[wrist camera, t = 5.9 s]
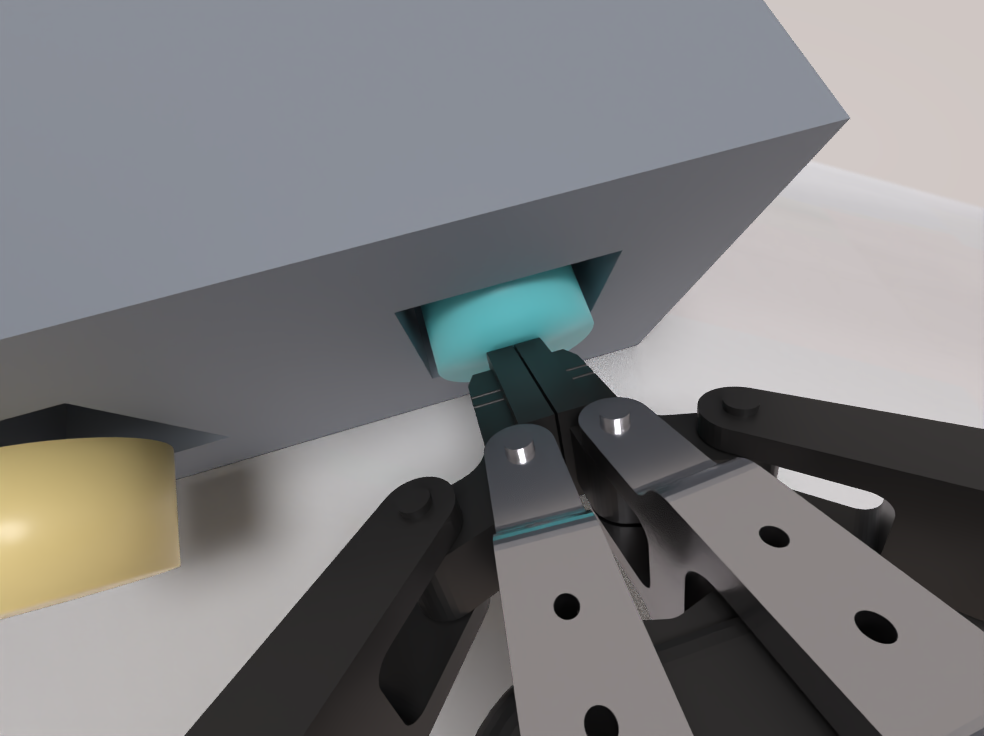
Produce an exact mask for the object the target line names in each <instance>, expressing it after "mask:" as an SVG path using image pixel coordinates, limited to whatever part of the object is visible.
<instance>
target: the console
mask: <svg viewBox="0 0 984 736" xmlns="http://www.w3.org/2000/svg"><path fill="white" fill-rule="evenodd" d="M849 119H850V117H849V116H848V114H847V113H846V112H845V110H844V109H843V108H842V106H841V105H840V104H839V102H838V101H837V100H836V98H835V97H834V95H833V94H832V93H831V91H830V90H829V89H828V87H827V86H826V85H825V83H824V82H823V81H822V79H821V78H820V77H819V75H818V74H817V72H816V71H815V70H814V68H813V67H812V66H811V64H810V63H809V62H808V60H807V59H806V57H805V56H804V55H803V53H802V52H801V51H800V49H799V48H798V47H797V45H796V44H795V43H794V41H793V40H792V39H791V37H790V36H789V35H788V33H787V32H786V30H785V29H784V28H783V26H782V25H781V24H780V22H779V21H778V20H777V18H776V17H775V16H774V14H773V13H772V11H771V10H770V9H769V7H768V6H767V5H766V3H765V2H764V1H763V0H0V447H4V446H11V445H18V444H24V443H33V442H41V441H51V440H62V439H76V438H97V437H124V438H142V439H150V440H156V441H161V442H164V443H167V444H169V445H171V446H172V447H173V449H174V461H175V478H176V479H179V478H183V477H186V476H190V475H193V474H197V473H200V472H203V471H207V470H210V469H214V468H217V467H221V466H224V465H227V464H231V463H234V462H238V461H241V460H245V459H248V458H251V457H255V456H258V455H262V454H265V453H269V452H272V451H275V450H279V449H282V448H286V447H289V446H292V445H296V444H299V443H303V442H306V441H310V440H313V439H316V438H320V437H323V436H327V435H330V434H334V433H337V432H340V431H344V430H347V429H351V428H354V427H358V426H361V425H364V424H368V423H371V422H375V421H378V420H381V419H385V418H388V417H392V416H395V415H399V414H402V413H405V412H409V411H412V410H416V409H419V408H423V407H426V406H429V405H433V404H436V403H440V402H443V401H447V400H450V399H453V398H457V397H460V396H464V395H467V394H470V392H469V389H468V385H469V383H470V382H453V381H449V380H446V379H444V378H442V377H441V376H440V375H439V374H438V370H437V366H436V362H435V359H434V355H433V351H432V348H431V344H430V340H429V336H428V333H427V329H426V325H425V321H424V318H423V314H422V310H421V307H420V306H421V305H424V304H428V303H432V302H435V301H439V300H443V299H446V298H450V297H454V296H457V295H461V294H464V293H468V292H472V291H475V290H479V289H483V288H486V287H490V286H494V285H497V284H501V283H505V282H508V281H512V280H516V279H519V278H523V277H527V276H530V275H534V274H537V273H541V272H545V271H548V270H552V269H556V268H559V267H563V266H567V265H570V264H571V266H572V269H573V271H574V274H575V276H576V279H577V281H578V284H579V286H580V289H581V291H582V293H583V296H584V298H585V301H586V303H587V306H588V308H589V311H590V313H591V316H592V318H593V321H594V326H593V328H592V330H591V332H590V333H589V334H588V336H587V337H586V338H585V339H584V340H582V341H581V342H580V343H579V344H577V345H576V346H575V347H573V348H572V349H570V350H569V352H572V353H575V354H577V355H578V356H579V357H580V358H581V359H582V360H587V359H590V358H594V357H597V356H601V355H604V354H607V353H611V352H614V351H618V350H621V349H625V348H628V347H631V346H635V345H638V344H639V343H640V342H641V341H642V340H643V338H644V337H645V336H646V335H647V334H648V333H649V332H650V331H651V330H652V329H653V328H654V327H655V326H656V325H657V324H658V322H659V321H660V320H661V319H662V318H663V317H664V316H665V315H666V314H667V313H668V312H669V311H670V310H671V309H672V308H673V306H674V305H675V304H676V303H677V302H678V301H679V300H680V299H681V298H682V297H683V296H684V295H685V294H686V293H687V292H688V290H689V289H690V288H691V287H692V286H693V285H694V284H695V283H696V282H697V281H698V280H699V279H700V278H701V277H702V276H703V274H704V273H705V272H706V271H707V270H708V269H709V268H710V267H711V266H712V265H713V264H714V263H715V262H716V261H717V260H718V258H719V257H720V256H721V255H722V254H723V253H724V252H725V251H726V250H727V249H728V248H729V247H730V246H731V245H732V244H733V242H734V241H735V240H736V239H737V238H738V237H739V236H740V235H741V234H742V233H743V232H744V231H745V230H746V229H747V228H748V227H749V225H750V224H751V223H752V222H753V221H754V220H755V219H756V218H757V217H758V216H759V215H760V214H761V213H762V212H763V211H764V209H765V208H766V207H767V206H768V205H769V204H770V203H771V202H772V201H773V200H774V199H775V198H776V197H777V196H778V195H779V193H780V192H781V191H782V190H783V189H784V188H785V187H786V186H787V185H788V184H789V183H790V182H791V181H792V180H793V179H794V177H795V176H796V175H797V174H798V173H799V172H800V171H801V170H802V169H803V168H804V167H805V166H806V165H807V164H808V163H809V161H810V160H811V159H812V158H813V157H814V156H815V155H816V154H817V153H818V152H819V151H820V150H821V149H822V148H823V147H824V145H825V144H826V143H827V142H828V141H829V140H830V139H831V138H832V137H833V136H834V135H835V134H836V133H837V132H838V131H839V129H840V128H841V127H842V126H843V125H844V124H845V123H846V122H847V121H848V120H849Z"/></svg>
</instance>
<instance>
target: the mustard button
mask: <svg viewBox="0 0 984 736" xmlns="http://www.w3.org/2000/svg"><path fill="white" fill-rule="evenodd" d="M180 566H181V565H180V548H179V530H178V513H177V495H176V478H175V461H174V449H173V447H172V446H171V445H169V444H167V443H164V442H161V441H156V440H150V439H142V438H124V437H97V438H76V439H62V440H51V441H41V442H33V443H24V444H18V445H11V446H4V447H0V620H1V619H4V618H8V617H12V616H16V615H19V614H23V613H27V612H30V611H34V610H38V609H41V608H45V607H49V606H52V605H56V604H59V603H63V602H67V601H70V600H74V599H77V598H81V597H84V596H88V595H91V594H95V593H98V592H102V591H105V590H109V589H112V588H115V587H119V586H122V585H125V584H129V583H132V582H135V581H139V580H142V579H145V578H148V577H152V576H155V575H158V574H161V573H164V572H167V571H170V570H173V569H175V568H178V567H180Z"/></svg>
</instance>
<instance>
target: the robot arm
mask: <svg viewBox="0 0 984 736" xmlns="http://www.w3.org/2000/svg"><path fill="white" fill-rule="evenodd" d="M486 354H487V360H488V364H489V368H490V370H488V371H485V372H481V373H478V374H474V375H473V376H472V378H471V380H470V383H469V385H468V389H469V392H470V396H471V399H472V403H473V406H474V410H475V413H476V417H477V420H478V424H479V427H480V431H481V434H482V438H483V441H484V445H485V449H484V456H483V459H482V461H481V462H480V464H479V465H478V466H477V467H476V468H475V469H474V471H472V472H471V473H470V474H469V475H467V476H466V477H464V478H463V479H461V480H459V481H458V482H456V483H454V484H453V485H450V484H449V483H448V482H447V481H445V480H443V479H441V478H437V477H422V478H418V479H414V480H411V481H409V482H407V483H405V484H403V485H401V486H400V487H398V488H397V489H395V490H394V491H393V492H392V493H390V494H389V496H388V497H387V498H386V499H385V500H384V501H383V502H382V503H381V505H380V506H379V507H378V508H377V509H376V511H375V512H374V513H373V514H372V515H371V516H370V518H369V519H368V520H367V521H366V522H365V524H364V525H363V526H362V527H361V528H360V529H359V531H358V532H357V533H356V534H355V535H354V536H353V538H352V539H351V540H350V541H349V542H348V544H347V545H346V546H345V547H344V548H343V549H342V551H341V552H340V553H339V554H338V555H337V557H336V558H335V559H334V560H333V561H332V562H331V564H330V565H329V566H328V567H327V568H326V569H325V571H324V572H323V573H322V574H321V575H320V577H319V578H318V579H317V580H316V581H315V582H314V584H313V585H312V586H311V587H310V588H309V590H308V591H307V592H306V593H305V594H304V595H303V597H302V598H301V599H300V600H299V601H298V602H297V604H296V605H295V606H294V607H293V608H292V610H291V611H290V612H289V613H288V614H287V615H286V617H285V618H284V619H283V620H282V621H281V623H280V624H279V625H278V626H277V627H276V628H275V630H274V631H273V632H272V633H271V634H270V635H269V637H268V638H267V639H266V640H265V641H264V643H263V644H262V645H261V646H260V647H259V648H258V650H257V651H256V652H255V653H254V654H253V656H252V657H251V658H250V659H249V660H248V661H247V663H246V664H245V665H244V666H243V667H242V668H241V670H240V671H239V672H238V673H237V674H236V676H235V677H234V678H233V679H232V680H231V681H230V683H229V684H228V685H227V686H226V687H225V689H224V690H223V691H222V692H221V693H220V694H219V696H218V697H217V698H216V699H215V700H214V701H213V703H212V704H211V705H210V706H209V707H208V709H207V710H206V711H205V712H204V713H203V714H202V716H201V717H200V718H199V719H198V720H197V722H196V723H195V724H194V725H193V726H192V727H191V729H190V730H189V731H188V732H187V733H186V734H185V736H429V734H430V732H431V730H432V728H433V726H434V724H435V721H436V719H437V717H438V715H439V713H440V711H441V709H442V707H443V704H444V702H445V700H446V698H447V696H448V694H449V692H450V689H451V687H452V685H453V683H454V681H455V679H456V677H457V675H458V672H459V670H460V668H461V666H462V664H463V662H464V660H465V658H466V655H467V653H468V651H469V649H470V647H471V645H472V643H473V641H474V638H475V636H476V634H477V632H478V630H479V628H480V626H481V624H482V621H483V619H484V617H485V615H486V613H487V610H488V608H489V603H490V597H491V596H492V595H494V594H495V593H496V592H498V591H499V590H500V595H501V602H502V609H503V616H504V623H505V630H506V637H507V644H508V651H509V658H510V665H511V672H512V679H513V685H512V686H511V687H510V688H509V689H508V690H507V691H506V692H505V693H504V694H503V696H502V697H501V698H500V699H499V701H498V702H497V703H496V704H495V705H494V707H493V708H492V709H491V711H490V712H489V714H488V715H487V717H486V718H485V720H484V721H483V723H482V725H481V726H480V728H479V729H478V731H477V733H476V735H475V736H984V429H980V428H974V427H969V426H963V425H957V424H952V423H946V422H940V421H935V420H929V419H923V418H918V417H912V416H906V415H901V414H895V413H889V412H883V411H878V410H872V409H866V408H861V407H855V406H849V405H844V404H838V403H832V402H827V401H821V400H815V399H810V398H804V397H798V396H792V395H787V394H781V393H775V392H770V391H764V390H758V389H753V388H746V387H723V388H718V389H714V390H711V391H709V392H707V393H705V394H704V395H703V396H702V397H701V398H700V399H699V401H698V408H697V413H690V414H677V415H656V414H655V413H654V412H653V411H652V410H650V409H649V408H648V407H647V406H645V405H644V404H643V403H641V402H639V401H636V400H633V399H629V398H622V397H617V396H616V395H615V394H614V393H613V392H612V391H611V390H610V389H609V388H608V387H607V386H606V385H605V383H604V382H603V381H602V380H601V379H600V378H599V377H598V376H597V375H596V374H595V373H593V371H592V370H591V368H590V367H589V366H587V365H586V363H585V362H584V361H583V360H582V359H581V358H580V357H579V356H578V355H577V354H575V353H572V352H569V351H567V350H564V349H561V350H558V351H554V352H551V351H550V349H549V348H548V347H547V346H546V345H545V343H544V342H543V341H542V340H541V338H536V339H532V340H529V341H525V342H522V343H518V344H515V345H514V347H513V346H512V345H511V346H508V347H504V348H501V349H497V350H494V351H490V352H487V353H486ZM779 467H782V468H785V469H789V470H793V471H796V472H800V473H803V474H807V475H811V476H814V477H818V478H822V479H825V480H829V481H833V482H836V483H840V484H844V485H847V486H851V487H854V488H858V489H862V490H865V491H869V492H872V493H874V494H876V495H878V496H880V497H882V498H884V500H883V503H882V504H881V505H880V506H879V507H877V508H874V509H867V510H863V509H856V508H852V507H848V506H845V505H842V504H838V503H835V502H832V501H828V500H825V499H822V498H818V497H815V496H812V495H808V494H805V493H802V492H798V491H795V490H792V489H790V488H789V487H787V486H786V485H785V484H783V483H782V482H781V481H779V480H778V479H777V475H778V469H779ZM583 494H585V495H586V497H587V499H588V501H589V503H590V507H591V510H587V511H585V509H584V506H583V504H582V502H581V499H580V497H579V496H580V495H583ZM612 553H613V554H612ZM613 555H614V556H615V558H616V559H617V561H618V562H619V564H620V566H621V567H622V569H623V570H624V572H625V573H626V575H627V576H628V578H629V580H630V581H631V583H632V584H633V586H634V587H635V589H636V590H637V592H638V594H639V595H640V597H641V598H642V600H643V602H644V604H645V606H646V608H647V610H648V612H649V615H650V618H651V620H642V619H641V617H640V614H639V612H638V610H637V608H636V605H635V603H634V601H633V599H632V596H631V594H630V592H629V590H628V587H627V585H626V583H625V581H624V578H623V576H622V574H621V572H620V569H619V567H618V565H617V563H616V560H615V558H614V556H613Z"/></svg>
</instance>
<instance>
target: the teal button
mask: <svg viewBox="0 0 984 736" xmlns="http://www.w3.org/2000/svg"><path fill="white" fill-rule="evenodd" d="M420 307H421V310H422V314H423V318H424V321H425V325H426V329H427V333H428V336H429V340H430V344H431V348H432V351H433V355H434V359H435V362H436V366H437V370H438V374H439V375H440V376H441V377H442V378H444V379H446V380H449V381H453V382H470V380H471V378H472V376H473V375H474V374H478V373H481V372H485V371H488V370H490V368H489V364H488V360H487V354H486V353H487V352H490V351H494V350H497V349H501V348H504V347H508V346H511V345H512V346H513V347H514V345H515V344H518V343H522V342H525V341H529V340H532V339H536V338H541V340H542V341H543V342H544V343H545V345H546V346H547V347H548V348H549V349H550V351H551V352H554V351H558V350H561V349H564V350H567V351H569V350H570V349H572V348H573V347H575V346H576V345H577V344H579V343H580V342H581V341H582V340H584V339H585V338H586V337H587V336H588V334H589V333H590V332H591V330H592V328H593V326H594V321H593V318H592V316H591V313H590V311H589V308H588V306H587V303H586V301H585V298H584V296H583V293H582V291H581V289H580V286H579V284H578V281H577V279H576V276H575V274H574V271H573V269H572V266H571V264H570V265H567V266H563V267H559V268H556V269H552V270H548V271H545V272H541V273H537V274H534V275H530V276H527V277H523V278H519V279H516V280H512V281H508V282H505V283H501V284H497V285H494V286H490V287H486V288H483V289H479V290H475V291H472V292H468V293H464V294H461V295H457V296H454V297H450V298H446V299H443V300H439V301H435V302H432V303H428V304H424V305H421V306H420Z"/></svg>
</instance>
